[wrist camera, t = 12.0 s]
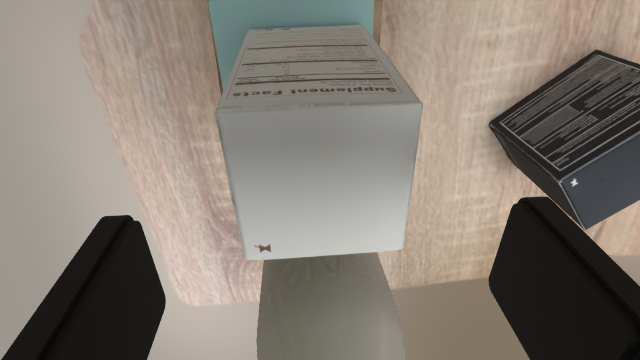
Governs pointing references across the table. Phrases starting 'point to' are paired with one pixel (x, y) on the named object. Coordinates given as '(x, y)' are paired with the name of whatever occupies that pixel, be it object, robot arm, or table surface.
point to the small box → (580, 137)
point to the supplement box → (318, 143)
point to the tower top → (277, 20)
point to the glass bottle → (328, 310)
